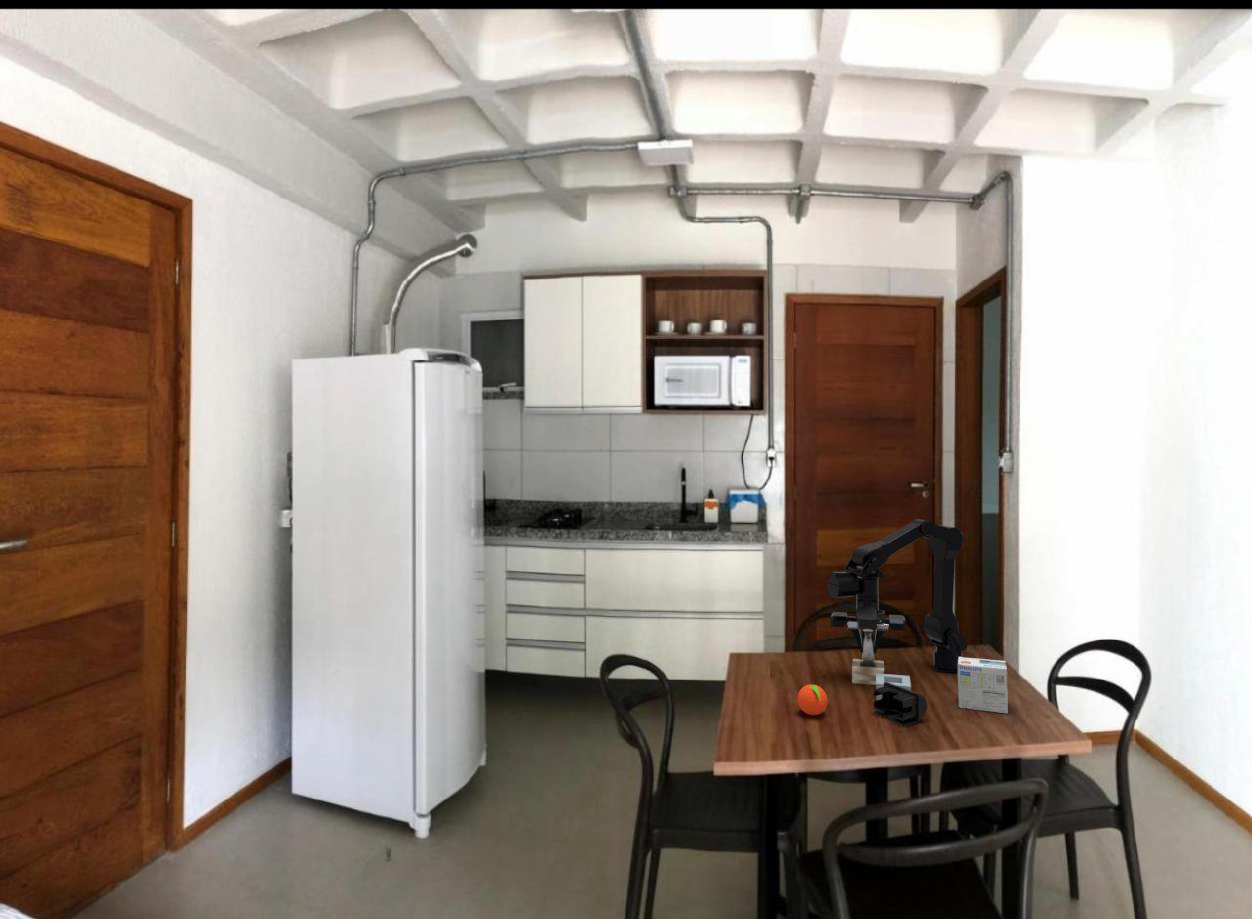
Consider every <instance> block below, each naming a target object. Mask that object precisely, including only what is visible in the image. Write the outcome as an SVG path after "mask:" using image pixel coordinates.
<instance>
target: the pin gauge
mask: <svg viewBox="0 0 1252 919" xmlns="http://www.w3.org/2000/svg"><path fill="white" fill-rule="evenodd" d="M861 639H862V653H861V654H862V659H861V660H863V667H874V660H875V654H874V643H875V630H871V629H861Z"/></svg>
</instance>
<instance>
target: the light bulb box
mask: <svg viewBox="0 0 1252 919" xmlns="http://www.w3.org/2000/svg"><path fill="white" fill-rule="evenodd" d="M1008 688H1009V687H1008V668H1007V661H1006V660H997V659H986V658H975V657H964V656H962V657H959V658H958V673H957V691H958V693H957V694H958V708H959V707H960V709H966V708H967V709H968V710H976V711H985V712H991V713H993V712H994V713H1000V714H1008V713H1009V696H1008V695H1009V694H1008V690H1009V689H1008Z"/></svg>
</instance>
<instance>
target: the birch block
mask: <svg viewBox="0 0 1252 919" xmlns="http://www.w3.org/2000/svg"><path fill="white" fill-rule="evenodd" d="M851 665H852V666H851V678H852V679H851V683H852V684H860V685H861V684H862V685H872V686H873V685H875V686H876V673H877V674H885V663H884V660H875V659H874V667H863V659H860V658H859V659H858V658H852V664H851Z"/></svg>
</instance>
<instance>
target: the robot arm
mask: <svg viewBox="0 0 1252 919" xmlns="http://www.w3.org/2000/svg"><path fill="white" fill-rule="evenodd" d="M923 537H924V538H926V539H928V540H929V546H930V549H931V551H932V553H933V555H934V558H935V560H934V561H935V562H934V585H933V586H934V587H933V588H934V589H933V608H932V610H931V612H929V614H925V615H924V626H923V629H924V630H925V634H926V635H927V637H928V638H929V641H930V643H931V644H932V645H934V646H935V649H934V650H933V666H934V668H935V669H936V671H937V672H939V671H941V673H953V672H955V674H958V658H959V657H963V655H962V652H963V651H965V652H966V651H967V648H968V645H969V642H968V641H967V640H966V639H965V638H964V637H963V636H962V635H961V634H960V630H959V629H960V628H959V622H958V620H957V618H956V615H955V614H954V592H955V589H954V587H955V567H956V565H955V564H956V558H957V557H958V556H959V555H960V553H961V551H962V546H963V542H964V541H963V540H964V534H963V532H962V531H961V530H960V529H959V528H957V527H954V526H947V525H942V524H935V523H933V522H930V521H929V520H926V519H925V520H924V519H919V518H918V519H916V518H915V519H914V520H912V521H911V522H910V523H908V524H906V525H905V526H903V527H901V528H900V529H898V530H896V531H894V532H892V533H891V534H889V535H888V536H886V537H884V538H883V539H881V540H879V541H876V542H871V543H866V544H863V545H860V546H858V547H856V548H855V549H854V550H853V551H852V555H851V557H850V558H849V561H848V562H847V564H846V565H845V567H844V568H843V571H832V572H831V576H830V577H829V578H828V581H827V583H826V584H827V585H826V586H827V590H828V593H829V594H828V595H830V597H831V598H832V599H841V598H850V597H855V599H856V600H855V602H856V603H855V604H856V605H855V607H856V609H855V616H854V615H852V616H850V615H849V616H848V614H847V612H845V611H844V612H842V611H841V612H840V611H833V612H832V613H831V617H830V627H832V628H844V627H845V626H846V625H847V631H849V632H850V631H851V632H852V634H853V635H854V638H855V640H856V642H857V645H858V649H859V650H860V651H859V652H860V653H861V654H862V631H861V630H864V629H870V630H873V631H875V634H874V655H876V654H877V652H878V648H879V645H880V642H881V639H882V637H883V636H884V634H888V633H889V628H890V629H891V630H892V631H901V632H902V631H904V632H905V631H906V618H905V616H904V615H901V614H889V615H888V617H889V618H887V617H886V611H885V610H884V609H883V610H882V609H880V602H879V601H880V597H879V596H880V595H879V594H880V592H879V589H880V588H879V579H884V578H886V576H887V575H886V574H884V573H883V572H882V571H881V569H880V568H882V567H883V566H884V565H885V564H886V563H887V562H888V560H889V558H890V557H891V556H893V555H894V554H896V553H897V552H899V551H900V550H903V549H905V547H907V546H910V545H911V544H913V543H914V542H915V541H918V540H919V539H921V538H923Z"/></svg>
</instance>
